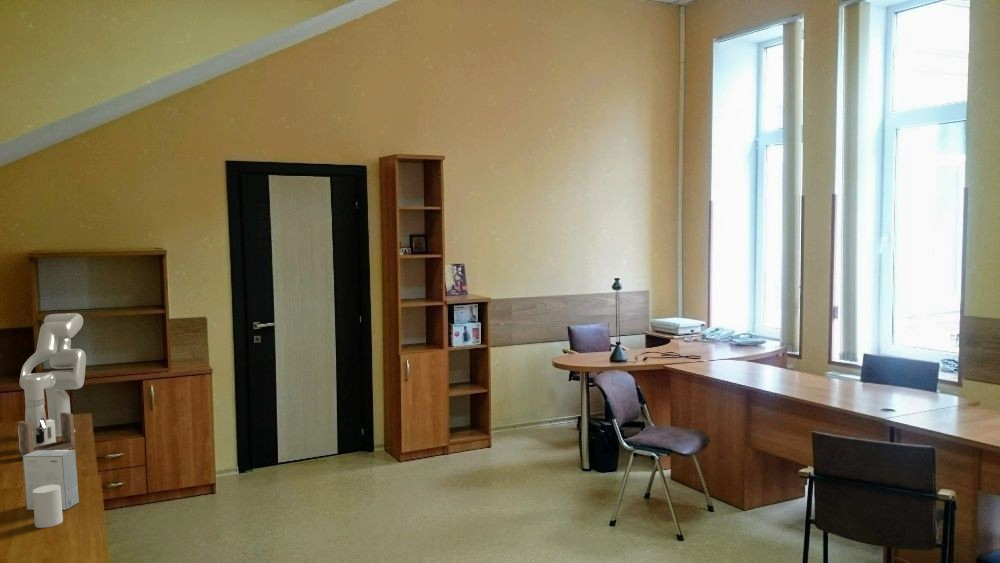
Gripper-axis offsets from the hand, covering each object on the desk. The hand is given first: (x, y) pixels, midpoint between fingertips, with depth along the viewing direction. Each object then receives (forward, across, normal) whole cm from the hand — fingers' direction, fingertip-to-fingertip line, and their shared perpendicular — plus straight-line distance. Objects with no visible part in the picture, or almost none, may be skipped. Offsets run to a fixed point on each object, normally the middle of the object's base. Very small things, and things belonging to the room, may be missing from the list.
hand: (37, 441), depth 343 cm
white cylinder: (+3, +98, -45) cm, 108 cm away
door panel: (+3, 0, 0) cm, 3 cm away
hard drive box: (+4, +83, -36) cm, 91 cm away
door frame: (+3, +11, -1) cm, 12 cm away
